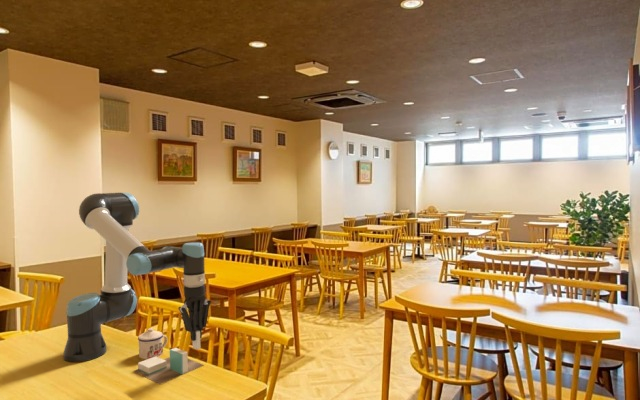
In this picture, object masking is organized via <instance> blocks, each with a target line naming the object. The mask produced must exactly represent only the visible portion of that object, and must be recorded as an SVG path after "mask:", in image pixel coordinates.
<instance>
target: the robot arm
mask: <svg viewBox="0 0 640 400" xmlns="http://www.w3.org/2000/svg"><path fill="white" fill-rule="evenodd" d="M139 213H140V205H139V202H138V200H137V199H136V197H135V196H134V195H133V194H131V193H129V192H104V193H98V192H97V193H92V194H90V195H88V196H86V197H85V198H84V199H83V200H82V202H80V205H79V209H78V215H79V218H80V220H81V222H82V223H83V224H84V225H85V226H86V227H87V228H89V229H90V230H95V232H97V233H98V234H99V235H100V236H101V237H102V238H103V239H104V240H105V262H104V263H105V265H104V266H105V268H104V269H105V270H104V275H105V276H104V285H103V286H102V287H100V294H99V293H97V292H88V293H83V294H81V295H77V296H75V297H73V298H71V299H70V300H69V301H68V302H67V305H66V312H65V313H66V321H67V322H66V324H67V341H66V343H65V347H64V350H63V357H62V358H63V361H65V362H69V363H70V362H71V363H78V362H87V361H90V360H93V359H97V358H99V357H101V356H103V355H104V354H105V353H106V352H107V343H106V342H105V339H104V336H103V334H102V325H103V324H105V323H108V322H112V321H116V320H118V319H119V320H120V319H124V318H126V317H127V316H130V315H132V314H133V312H135V310H136V307H137V304H138V303H137V302H138V299H137V298H138V297H137V295H136V292H135V290H133V289H132V287H131V285H130V284H129V283H128V273H130V274H131V276H132V275H133V276H141V275H147V274H151V273H154V272H155V273H156V272H159V271H164V270H169V269H173V268H179V269H183V271H182V272H183V273H182V274H183V296H184V301H183V305H182V306H179V307H178V311H179V312H180V315H181V318H182V322H183V326H184V329H185V331H186V332H189V333H190V340H191V341H192V349H195V350H200V349H201V348H202V347H201V339H202V332H203V330H204V328H206V327H207V323H208V315H209V309H210V306H211V303H212V301H211V300H209V299H207V298H206V296H205V295H206V285H205V283H206V277H205V276H206V274H205V254H206V253H205V249H204V248H205V247H204V244H203V243H202V242H199V241H198V242H193V241H192V242H186V243H184V244H183V245H182V247H178V246H173V245H171V246H164V247H162V248H160V249H155V250H150V249H148V247H147V246H145V245H144V244H143V243H142V242H141V241H140V240H139V239H137V238H136V237H135V236H134V235H133V234H132V233H131V232H129V229H130V228H131V227H132V226H133V223H134V222H133V221H134V220H136V219H137V218H138V216H139Z"/></svg>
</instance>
